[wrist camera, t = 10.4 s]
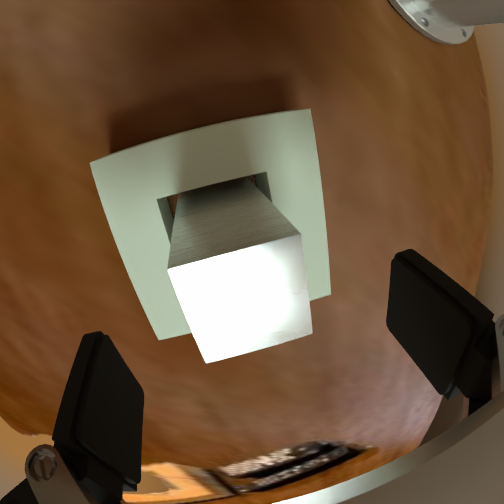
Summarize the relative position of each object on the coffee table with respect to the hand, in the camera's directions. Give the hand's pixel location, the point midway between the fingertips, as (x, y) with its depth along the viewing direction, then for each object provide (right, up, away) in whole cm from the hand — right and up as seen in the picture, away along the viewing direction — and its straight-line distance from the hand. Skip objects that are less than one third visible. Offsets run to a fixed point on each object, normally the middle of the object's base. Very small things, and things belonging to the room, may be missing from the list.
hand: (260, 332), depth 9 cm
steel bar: (-2, +5, +11) cm, 13 cm away
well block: (-3, +5, +11) cm, 13 cm away
